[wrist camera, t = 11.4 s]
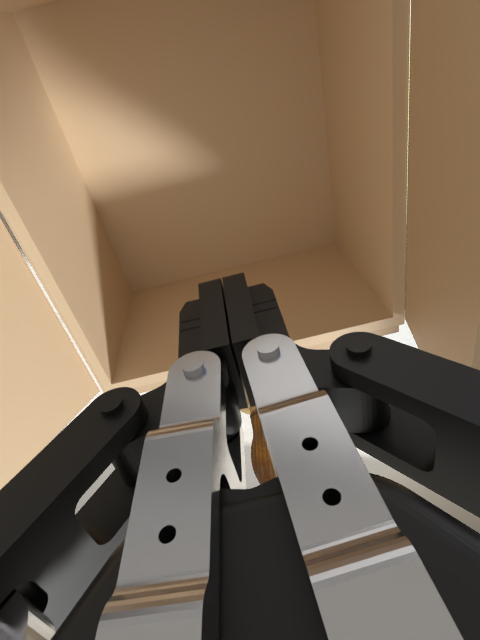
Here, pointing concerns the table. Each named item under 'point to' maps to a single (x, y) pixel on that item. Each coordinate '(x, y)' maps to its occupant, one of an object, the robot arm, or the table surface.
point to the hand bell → (259, 448)
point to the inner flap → (444, 180)
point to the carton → (206, 164)
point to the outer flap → (33, 366)
